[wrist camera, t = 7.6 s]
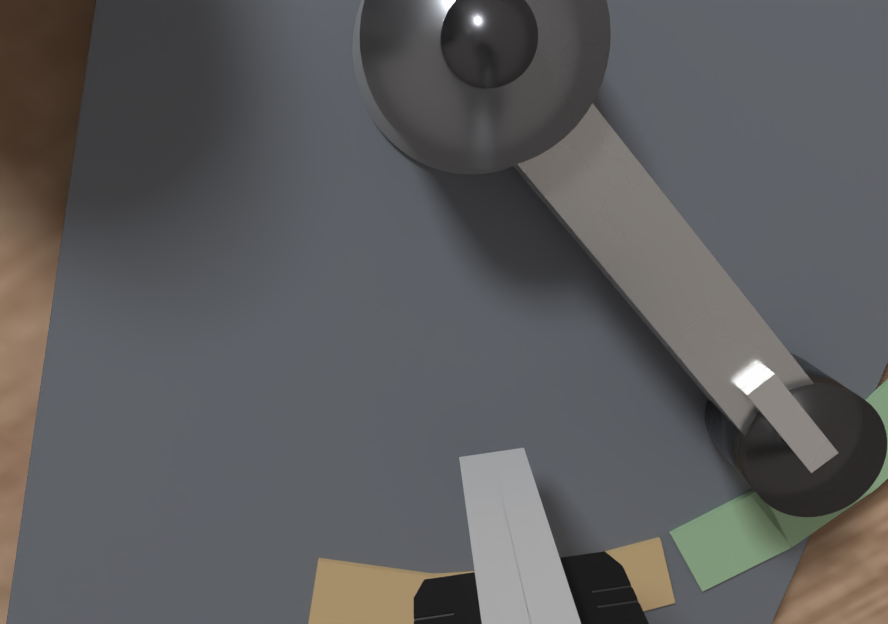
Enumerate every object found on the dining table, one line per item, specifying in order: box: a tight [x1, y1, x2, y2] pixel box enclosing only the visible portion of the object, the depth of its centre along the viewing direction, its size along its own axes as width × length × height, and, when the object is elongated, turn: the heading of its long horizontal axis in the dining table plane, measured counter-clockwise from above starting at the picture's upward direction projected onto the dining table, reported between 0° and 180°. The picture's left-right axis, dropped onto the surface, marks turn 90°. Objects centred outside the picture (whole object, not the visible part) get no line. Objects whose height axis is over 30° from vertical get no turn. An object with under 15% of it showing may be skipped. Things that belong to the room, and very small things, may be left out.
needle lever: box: [360, 0, 887, 517], centre depth 15 cm, size 15×4×4 cm, turn 41°
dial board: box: [6, 0, 888, 624], centre depth 19 cm, size 23×25×1 cm
